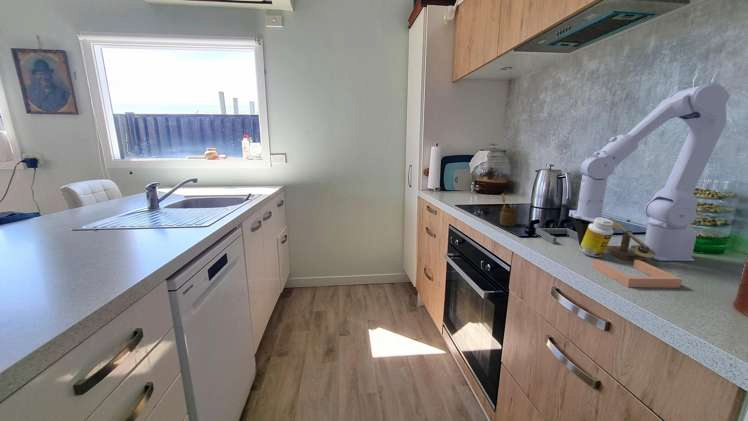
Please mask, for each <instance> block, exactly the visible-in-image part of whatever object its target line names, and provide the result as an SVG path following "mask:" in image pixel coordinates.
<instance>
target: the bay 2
mask: <svg viewBox="0 0 748 421" xmlns="http://www.w3.org/2000/svg"><path fill="white" fill-rule="evenodd" d="M591 266H592V268H593V269H596V270H597V271H599V272H600V273H602V274H604V275H606V276H608V277H609V278H611V279H613V280H614V281H616V282H617V283H620V285H621V284H622V286H625V287H627V288H663V289H664V288H669V289H670V288H675V289H676V288H681V286H682V281H683V279H682V278H681V277H678V276H677V275H674V274H671V273H669V272H667V271H666V270H665V271H664V270H662V269H660V268H658V267H656V266H653V265H652V264H650V263H647V262H645V261H644V260H633V266H632V267H633V268H634V269H636V270H638V271H640V272H643V273H644V274H647V275H648V276H630V275H627V274H626V273H624V272H622V271H621V270H619V269H616V268H614V266H611V265H609V264H607V263H605V262H603V261H602V260H600V259H598V258H597V259H593V261H592V265H591Z"/></svg>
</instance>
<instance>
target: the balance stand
mask: <svg viewBox="0 0 748 421" xmlns="http://www.w3.org/2000/svg"><path fill="white" fill-rule="evenodd" d="M630 242H631V237H629V236H628V235H627V234H622V237H621V244H620V245H607V247H606V250H605V252H606V253H608V254H610V255H613V256H615V257H616V258H618V259H621V260H622V261H627V260H628V261H634V260H640V261H647V260H648V258H643V257H640V256H637V255H635V254H634V253H632V252H631V250H630V248H631V247H630Z"/></svg>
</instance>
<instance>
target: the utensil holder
mask: <svg viewBox="0 0 748 421" xmlns="http://www.w3.org/2000/svg"><path fill="white" fill-rule="evenodd" d="M517 200H518V198H517V197H515V198H511V200H510V201H513V202H514V203H513V205H512V202H510V203H509V205H506V198H505V193H504V192H503V193H501V201H502V202H503V206H502V207H501V211H500V214H499V224H500V225H502V226H505V227H514V226H516V225H517V218H518V217H517V215H518V213H517V207H516V203H517Z"/></svg>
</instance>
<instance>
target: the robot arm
mask: <svg viewBox="0 0 748 421" xmlns="http://www.w3.org/2000/svg"><path fill="white" fill-rule="evenodd" d="M730 96H731V94H730V93H729V92H728V91H727V90H726V88H725V87H723V86H722V85H721V84H719V83H717V82H708V83H707V82H706V83H704V84H702V85H698V86H694V87H689V88H686V89H683V88H682V89H679V90H677V91H675V92H673V93H672V94H670V95H669V96H668V97H666V98H665V99H664V100H662V101H661V102H660V103H659V104H658V105H657V107H656V108H654V109H653V110H652V111H651V112H650V113H648V115H647V116H645V118H643V119H642V120H641V121H640V122H639V123H638V124H637V125H636V126H634V127H633V128H632V129H631V130H630V131H629V132H628V133H627V134H619V135H618V134H617V135H616V136H612V137H610V138H609V139H608V143H607V144H606V145H604V146H603V147H602V148H601V149H600V150H599V151H595V152H594V153H593V156H591V157H588V158H586V159H584V161H583V162H582V163H581V165H580V166H579V167H578V170H579V172H580V175H581V182H580V187H579V192H578V193H579V195H578V201H577V209H569V213H568V217H571V218H573V219H578V220H574V221H573V222H572V223H573V226H574V228H575V230H576V232H577V234H578V240H579V241H578V240H577V241H578V244H579V245H578V246H579V247H580V246H581V243H582V241H583V238H584V236H585V233H586V231H587V228H588V226H589V224H591V223H594V221H595V218H597V217H602V218H604V217H603V216H602V213H603V207H604V203H605V202H604V201H605V195H606V189H607V181H608V177H610V176H612V175H613V174H614V171H615V168H616V167H617V166H618V165H620V163H622V162H623V161H624V160H626V159H627V158H629V156H631V154H634V152H636V151H637V150H638V148H639V142H641V141H642V140H643V139H645V138H646V137H647V136H649V135H650V134H652V133H653V132H654V131H655V130H657V129H659V127H661V126H662V125H663V124H666V122H668V121H670V120H671V119H675V118H678V119H679V120H682V121H683V122H684V123H686V125H687V126H688V128H689V129H690V130H689V132H688V135H687V137H686V139H685V141H684V144H683V145H682V148H681V150H680V152H679V154H678V156H677V159H676V161H675V164H674V165H673V168H672V170H671V172H670V174H669V176H668V179H667V180H666V183H665V185H664V187H662V188H661V189H659V190H658V191H656V192H655V194H654V196H653V197H652V198H651V200H649V201H647V203H646V205H645V206H644V214H645V215H646V217H647V218H648V219H647V226H646V231H645V237H644V241H643V243H644V244H646V245H647V246H648V247H649V248H650V249H651V250H652V251H654V252H655V257H654V258H652V259H654V260H655V261H661V262H662V261H663V262H664V261H665V262H694V261H695V258H692V257H693V252H694V250H695V244H696V240H697V233H696V232H695V230H694V229H693V228H692V227H691V226H690V225H691V224H692V223H694V221H695V220H696V217H697V210H696V209H697V206H698V204H699V201H698V199H697V198H696V196H695V194H694V192H695V189H696V187H697V185H698V183H699V181H700V178H701V177H702V175H703V173H704V170H705V168H706V166H707V164H708V162H709V161H710V158H711V156H712V154H713V152H714V149H715V147H716V146H717V144H718V141H719V139H720V137H721V135H722V133H723V131H724V129H725V127H726V124H727V106H726V105H727V103H728V101H729V99H730ZM599 221H600V220H599ZM607 221H608V220H607ZM607 221H604V220H603V221H601V222H602V223H611V222H610V221H608V222H607Z"/></svg>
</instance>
